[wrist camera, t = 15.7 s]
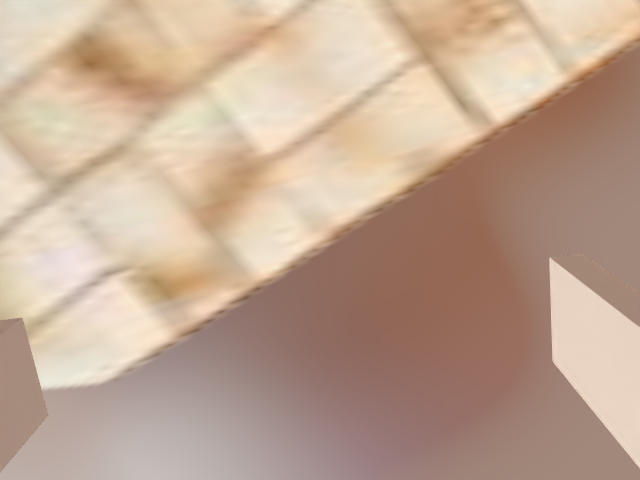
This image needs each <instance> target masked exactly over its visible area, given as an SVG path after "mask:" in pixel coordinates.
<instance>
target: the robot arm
mask: <svg viewBox="0 0 640 480" xmlns="http://www.w3.org/2000/svg"><path fill="white" fill-rule="evenodd" d="M550 290H551V324H552V355H553V362H554V364H555V365H556V366H557V367H558V368H559V370H560V371H561V372H562V373H563V374H564V376H565V377H566V378H567V379H568V381H569V382H570V383H571V384H572V386H573V387H574V388H575V389H576V390H577V391H578V393H579V394H580V395H581V397H582V398H583V399H584V400H585V402H586V403H587V404H588V405H589V406H590V408H591V409H592V410H593V411H594V413H595V414H596V415H597V416H598V417H599V419H600V420H601V421H602V422H603V424H604V425H605V426H606V427H607V429H608V430H609V431H610V432H611V433H612V434H613V436H614V437H615V438H616V440H617V441H618V442H619V443H620V444H621V446H622V447H623V448H624V449H625V451H626V452H627V453H628V454H629V455H630V457H631V458H632V459H633V460H634V462H635V463H636V464H637V465H638V466H639V468H640V292H638V291H637V290H635V289H634V288H632V287H631V286H629V285H627V284H626V283H625V282H623V281H622V280H620V279H619V278H617V277H616V276H614V275H613V274H611V273H610V272H608V271H607V270H605V269H603V268H602V267H601V266H599V265H598V264H596V263H595V262H593V261H592V260H590V259H589V258H587V257H586V256H584V255H583V254H575V255H567V256H557V257H550ZM47 416H48V413H47V409H46V405H45V401H44V398H43V394H42V390H41V386H40V383H39V379H38V375H37V371H36V367H35V364H34V360H33V356H32V352H31V349H30V345H29V341H28V337H27V334H26V330H25V326H24V322H23V318H16V319H8V320H0V472H1V471H2V470H3V468H4V467H5V466H6V465H7V463H8V462H9V461H10V460H11V459H12V458H13V457H14V455H15V454H16V453H17V452H18V451H19V449H20V448H21V447H22V446H23V445H24V444H25V442H26V441H27V440H28V439H29V437H30V436H31V435H32V434H33V433H34V432H35V430H36V429H37V428H38V427H39V426H40V425H41V423H42V422H43V421H44V420H45V419H46V417H47Z"/></svg>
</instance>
